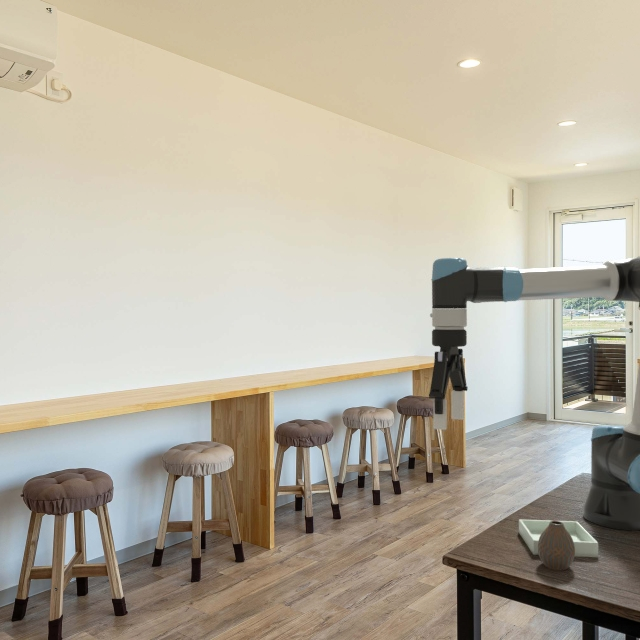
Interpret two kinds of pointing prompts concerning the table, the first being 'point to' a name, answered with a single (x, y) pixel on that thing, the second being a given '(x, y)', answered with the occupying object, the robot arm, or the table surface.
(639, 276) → the robot arm
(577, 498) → the table surface
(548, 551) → the vase
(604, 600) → the table surface
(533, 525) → the tray
